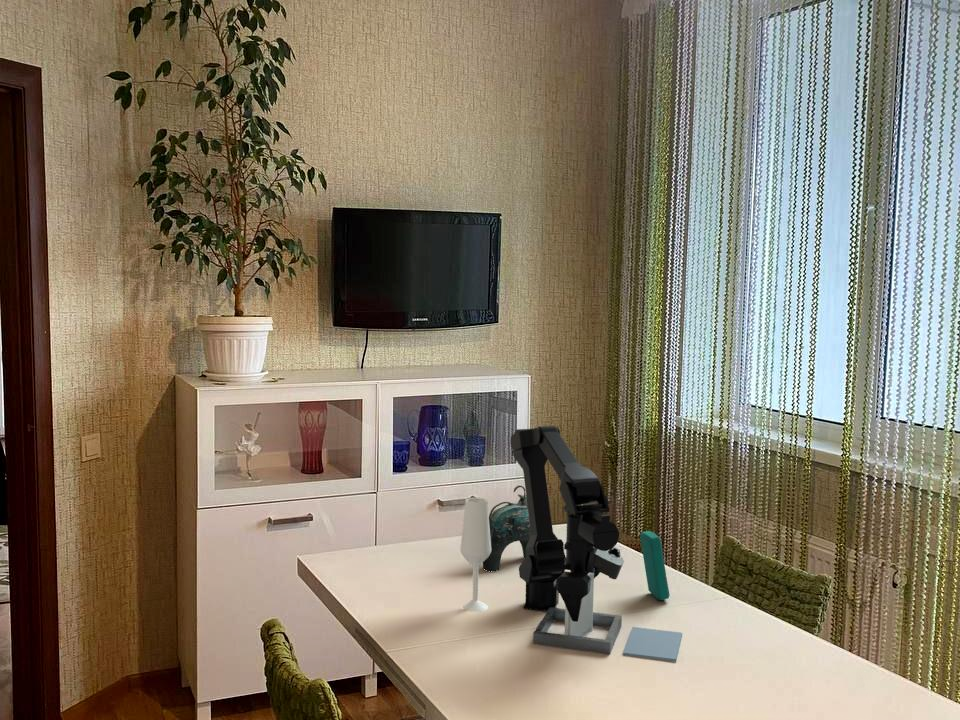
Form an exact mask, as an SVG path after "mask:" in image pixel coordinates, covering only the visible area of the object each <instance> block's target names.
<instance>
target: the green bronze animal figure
mask: <svg viewBox="0 0 960 720" xmlns="http://www.w3.org/2000/svg"><path fill="white" fill-rule="evenodd" d="M518 488H522V489H523V491H524V492H523V493H524V494H520V493H519V494H517V496H518V497H519V500H518V501H517V502H516V503H513V502H509V501H502V502H500V503H498V504H496V505H495V506H493V507H492V508H491V510H490V512H489V526H490V538H491V553H490V555H489V557H488V558H487V559H486V560H485V561H484V562H483V563H482V570H483V569H485V570H487V571H486V572H488V571H490V572H489V573H492V572H491V571H495V572H497V571H496V570H498V571H500V570H499V569H500V565H501V558H502V557H503V556H502V555H503V553H504V551H505V549H506V548H507V547H508V546H509V545H510V544H512V543H515V542H519V543H520V546H521V548H522V554H523V559H524V558H525V557H526V550H525V549H526V546H527V544H528V541H529V539H530V537H531V529H530V521H529V513H528V505H527V497H526V489H525V486H522V485H516V486H515V487H514V489H513V493H516V490H518ZM503 504H505V505H503ZM502 505H503V506H502ZM499 506H501V507H499ZM496 508H497V509H496ZM485 570H484V571H485Z"/></svg>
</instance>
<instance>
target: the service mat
mask: <svg viewBox="0 0 960 720" xmlns="http://www.w3.org/2000/svg"><path fill="white" fill-rule="evenodd" d="M628 636H629V637H628V639H627V641H626V644H625V647H624V649H623V652H622V655H623V656H627V657H635V658H641V659H643V658H644V659H649V660H650V659H651V660H657V661H664V662H665V661H666V662H672V663H677V661H678V655H679V652H680V647H681V642H682V638H683V632H682V631H681V632H680V631H672V630H671V631H670V630H663V629H662V630H661V629H656V628H655V629H653V628H646V627H637V626H633V627H632V628H631V630H630V633H629V635H628Z"/></svg>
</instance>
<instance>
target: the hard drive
mask: <svg viewBox="0 0 960 720" xmlns="http://www.w3.org/2000/svg"><path fill="white" fill-rule="evenodd" d="M588 576H589V577H590V578H591V585H590V591H589V593H588V595H586V596H585V597H583V598H582V604H581V609H580V614H579V619H578V621H577V622H574V621H572V619H571V617H570V615H569V612H568V610H567V608H566V605H565V604H564V605H565V606H564V609H565V622H564V635H572V636H580V637H585V636H586V635H588V634H589V633H592V632H593V628H594V627H593V626H594V625H593V612H594V596H595V595H594V591H595V590H594V587H595V585H594V583H595V578H594V573H589V574H588Z"/></svg>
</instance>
